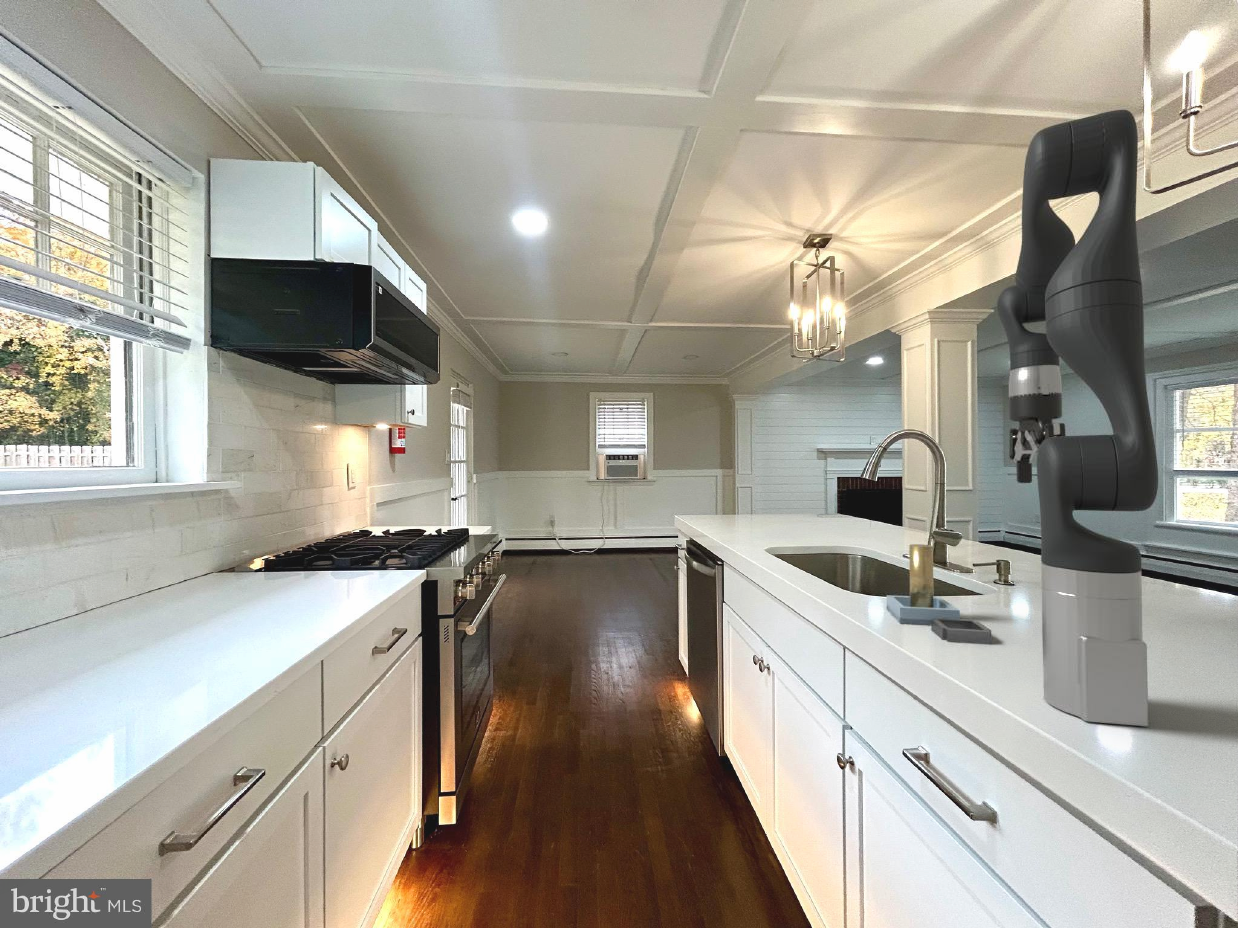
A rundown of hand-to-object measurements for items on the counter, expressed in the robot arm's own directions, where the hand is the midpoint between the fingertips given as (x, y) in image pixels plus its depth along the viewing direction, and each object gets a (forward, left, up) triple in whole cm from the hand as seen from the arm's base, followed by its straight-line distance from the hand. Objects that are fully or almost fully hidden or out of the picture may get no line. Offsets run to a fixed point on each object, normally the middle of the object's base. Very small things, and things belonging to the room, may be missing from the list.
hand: (1036, 483), depth 96 cm
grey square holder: (-7, +15, -26) cm, 31 cm away
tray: (+4, +18, -26) cm, 32 cm away
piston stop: (+4, +18, -25) cm, 31 cm away
